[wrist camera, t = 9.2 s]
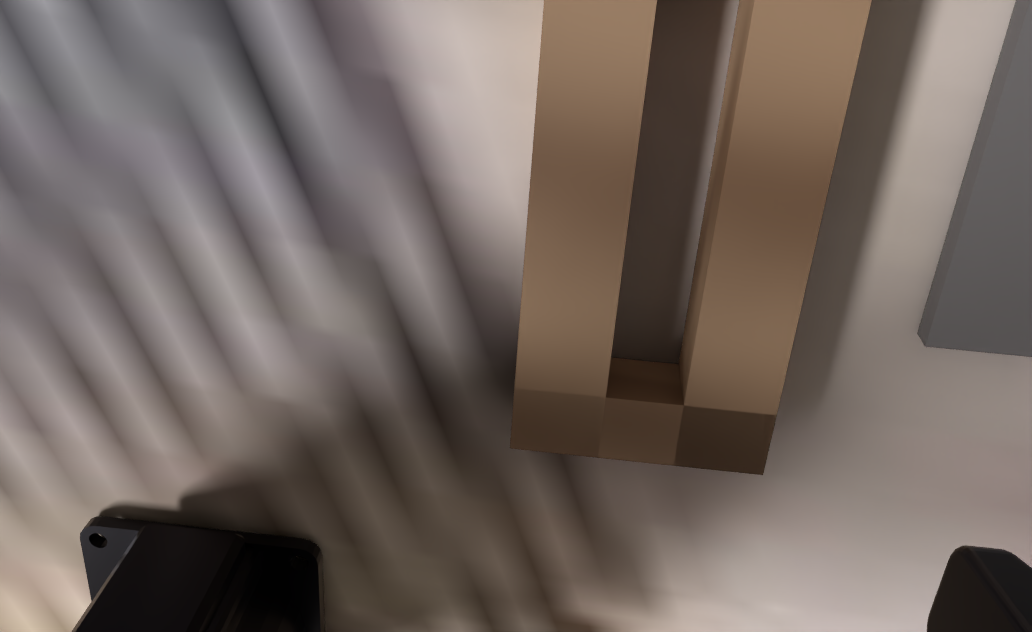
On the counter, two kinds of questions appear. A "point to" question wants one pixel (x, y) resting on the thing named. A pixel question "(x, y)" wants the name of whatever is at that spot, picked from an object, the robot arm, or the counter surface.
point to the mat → (992, 220)
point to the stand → (722, 245)
